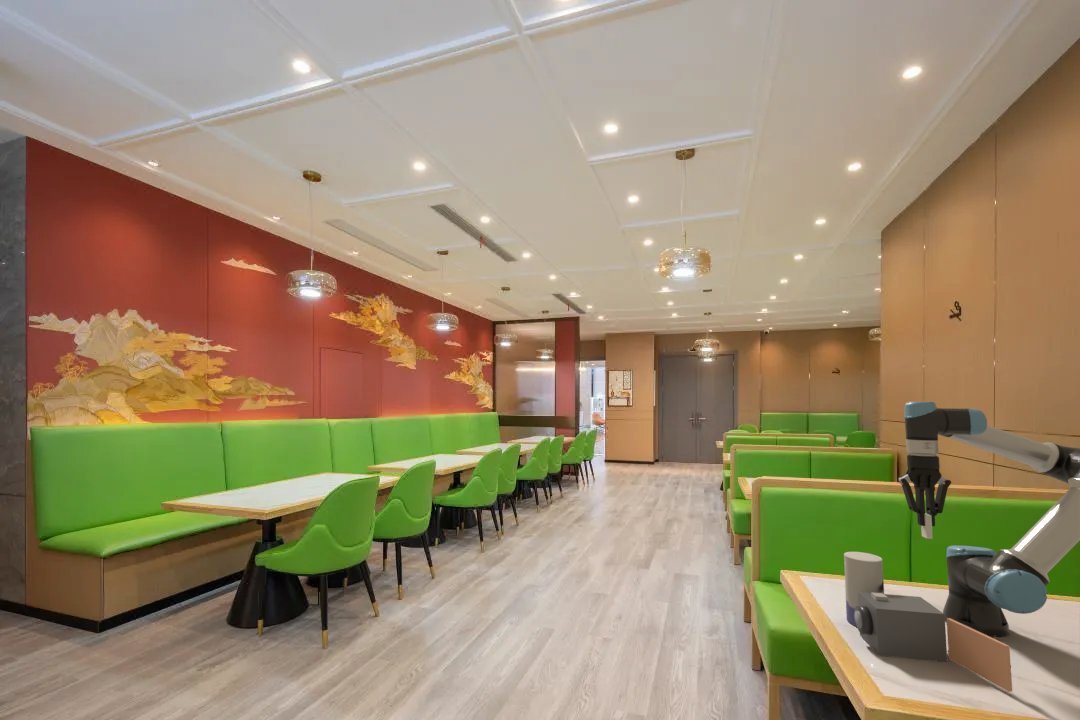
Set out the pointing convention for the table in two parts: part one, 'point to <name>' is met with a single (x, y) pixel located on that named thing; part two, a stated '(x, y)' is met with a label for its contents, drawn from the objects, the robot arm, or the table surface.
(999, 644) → the side door
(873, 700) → the table surface
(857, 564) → the container
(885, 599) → the dark gray knobbed box
